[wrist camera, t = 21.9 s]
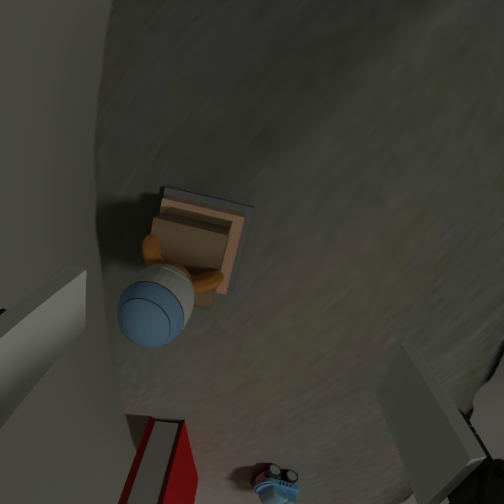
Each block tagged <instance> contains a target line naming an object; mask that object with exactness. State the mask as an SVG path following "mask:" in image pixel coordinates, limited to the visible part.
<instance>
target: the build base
mask: <svg viewBox="0 0 504 504" xmlns="http://www.w3.org/2000/svg"><path fill="white" fill-rule="evenodd" d="M170 207H175V208H179V209H183V210H187V211H192V212H196V213H200V214H204V215H209V216H213V217H217V218H221V219H225V220H229V221H233V223H232V227H231V231H230V235H229V239H228V244H227V248H226V252H225V257H224V261H223V265H222V270H221V272H222V273H223V274H224V279H223V281H222V283H221V284H220V285H218V287H217V290H216V292H217V293H221V294H225V295H226V293H227V290H229V291H233V290H234V286H235V282H236V278H237V274H238V270H239V266H240V262H241V258H242V254H243V250H244V246H245V242H246V238H247V234H248V230H249V226H250V222H251V218H252V214H253V210H254V207H253V206H249V205H245V204H241V203H237V202H233V201H228V200H224V199H220V198H216V197H211V196H207V195H203V194H198V193H194V192H189V191H185V190H180V189H176V188H171V187H165V190H164V195H163V198H162V202H161V208H160V213H162V212H163V211H165V210H167V209H168V208H170Z"/></svg>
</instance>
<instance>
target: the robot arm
mask: <svg viewBox="0 0 504 504" xmlns="http://www.w3.org/2000/svg"><path fill="white" fill-rule="evenodd" d="M85 292H86V269H83V268H79V267H76V266H73V265H70V266H69V267H67V268H66V269H64V270H63V271H61V272H60V273H58V274H57V275H55V276H54V277H52V278H51V279H49V280H48V281H47V282H45V283H44V284H42V285H41V286H40V287H38V288H37V289H35V290H34V291H32V292H31V293H30V294H28V295H27V296H26V297H24V298H23V299H21V300H20V301H18V302H17V303H16V304H15V305H13V306H12V307H10V308H9V309H8V310H6V309H1V310H0V429H1V428H2V426H3V425H4V424H5V423H6V421H7V420H8V419H9V417H10V416H11V415H12V414H13V412H14V411H15V410H16V408H17V407H18V406H19V405H20V403H21V402H22V401H23V400H24V398H25V397H26V396H27V395H28V393H29V392H30V391H31V390H32V389H33V387H34V386H35V385H36V384H37V383H38V381H39V380H40V379H41V378H42V377H43V375H44V374H45V373H46V372H47V371H48V369H49V368H50V367H51V366H52V365H53V364H54V362H55V361H56V360H57V359H58V358H59V357H60V356H61V354H62V353H63V352H64V351H65V350H66V349H67V347H68V346H69V345H70V344H71V343H72V342H73V341H74V340H75V338H76V337H77V336H78V335H79V334H80V333H81V332H82V331H83V330H84V328H85V295H86V294H85ZM375 395H376V397H377V399H378V402H379V404H380V407H381V409H382V412H383V414H384V417H385V419H386V421H387V424H388V426H389V429H390V431H391V434H392V437H393V439H394V442H395V444H396V447H397V449H398V452H399V455H400V457H401V460H402V463H403V465H404V468H405V471H406V473H407V476H408V479H409V482H410V484H411V487H412V490H413V493H414V495H415V498H416V501H417V504H440V503H441V502H442V501H443V500H444V499H445V498H446V497H448V500H449V502H450V503H449V504H504V460H502V459H494V460H493V459H492V457H491V456H490V454H489V452H488V451H487V449H486V447H485V445H484V444H483V442H482V440H481V439H480V437H479V436H478V434H476V431H475V429H474V428H473V427H472V424H471V423H470V421H469V420H468V418H467V416H466V415H465V414H464V413H463V412H461V411H460V410H459V409H458V408H457V407H456V405H455V404H454V402H453V401H452V399H451V398H450V396H449V395H448V393H447V392H446V390H445V389H444V387H443V386H442V384H441V383H440V381H439V380H438V378H437V377H436V375H435V374H434V372H433V371H432V369H431V368H430V366H429V365H428V363H427V362H426V361H425V359H424V358H423V356H422V355H421V353H420V352H419V351H418V349H417V348H416V346H415V345H412V344H406V343H400V345H399V347H398V349H397V351H396V353H395V355H394V357H393V359H392V360H391V362H390V364H389V366H388V368H387V370H386V372H385V374H384V376H383V377H382V379H381V381H380V383H379V385H378V386H377V388H376V390H375Z"/></svg>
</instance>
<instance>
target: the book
mask: <svg viewBox="0 0 504 504" xmlns="http://www.w3.org/2000/svg"><path fill="white" fill-rule="evenodd" d="M197 484H198V475H197V472H196V468H195V464H194V460H193V455H192V451H191V447H190V443H189V438H188V434H187V429H186V425H185V420H183V421H182V422H180V423H169V422H160V421H155V420H154V419H153V418H152V417H151V416H150V418H149V421H148V424H147V426H146V429H145V431H144V434H143V437H142V439H141V442H140V445H139V447H138V450H137V453H136V456H135V458H134V461H133V464H132V466H131V469H130V472H129V474H128V477H127V480H126V483H125V486H124V489H123V491H122V494H121V497H120V500H119V503H118V504H194V501H195V495H196V490H197Z"/></svg>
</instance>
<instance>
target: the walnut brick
mask: <svg viewBox="0 0 504 504" xmlns="http://www.w3.org/2000/svg"><path fill="white" fill-rule="evenodd" d="M232 223H233V221H229V220H225V219H221V218H217V217H213V216H209V215H204V214H200V213H196V212H192V211H187V210H183V209H179V208H175V207H170V208H168V209H167V210H165V211H163V212H162V213H160V214H158V215H157V216H155V217H154V218H153V223H152V229H151V235H155V236H157V239H158V243H159V247H160V250H161V256H162V258H163V259H164V260H165V261H166V262H175V263H178V264H180V265H182V266H183V267H184V268H185V269H186V270H187V271H188V272H189V274H190V275H195V276H199V275H201V274H203V273H208V272H212V271H216V270H220V271H221V270H222V265H223V261H224V257H225V252H226V248H227V244H228V239H229V235H230V231H231V227H232ZM146 268H147V267H146ZM217 287H218V286H217ZM217 287H215V288H213V289H211V290H209V291H206V292H202V293H197V294H194V307H198V308H202V309H206V310H210V309H211V306H212V302H213V299H214V296H215V293H216V290H217Z"/></svg>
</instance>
